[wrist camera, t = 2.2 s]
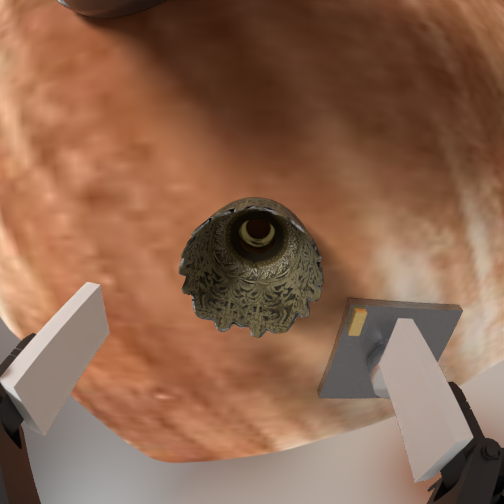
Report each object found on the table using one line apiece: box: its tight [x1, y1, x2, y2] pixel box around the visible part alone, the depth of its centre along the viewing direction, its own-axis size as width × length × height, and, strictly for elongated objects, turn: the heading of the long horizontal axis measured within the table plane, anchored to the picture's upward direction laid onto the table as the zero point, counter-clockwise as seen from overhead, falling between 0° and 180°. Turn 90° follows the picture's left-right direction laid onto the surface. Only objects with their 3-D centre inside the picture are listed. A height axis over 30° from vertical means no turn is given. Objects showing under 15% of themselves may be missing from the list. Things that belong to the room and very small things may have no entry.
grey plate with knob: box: [318, 298, 463, 398], centre depth 25 cm, size 12×12×4 cm
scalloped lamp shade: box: [179, 197, 324, 338], centre depth 19 cm, size 8×7×8 cm
